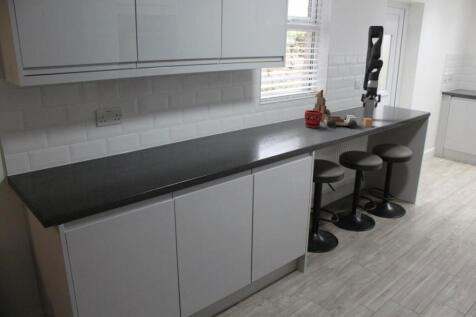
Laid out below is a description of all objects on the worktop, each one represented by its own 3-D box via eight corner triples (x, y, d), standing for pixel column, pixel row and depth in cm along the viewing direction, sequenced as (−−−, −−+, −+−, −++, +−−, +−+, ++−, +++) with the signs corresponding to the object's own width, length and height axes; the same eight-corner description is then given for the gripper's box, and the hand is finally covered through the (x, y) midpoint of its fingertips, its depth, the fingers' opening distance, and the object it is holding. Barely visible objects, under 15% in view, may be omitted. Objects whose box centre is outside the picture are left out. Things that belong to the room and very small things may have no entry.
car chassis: (323, 122, 313) (324, 113, 311) (351, 123, 312) (352, 114, 310) (327, 127, 297) (328, 117, 295) (356, 128, 296) (357, 118, 294)
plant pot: (322, 128, 292) (324, 113, 288) (305, 128, 292) (306, 112, 288) (319, 125, 304) (320, 109, 301) (302, 124, 304) (303, 109, 300)
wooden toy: (330, 121, 319) (333, 90, 311) (325, 122, 314) (328, 91, 307) (315, 118, 330) (317, 88, 322) (310, 119, 325) (312, 88, 318)
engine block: (362, 125, 309) (363, 117, 307) (369, 125, 309) (370, 117, 307) (365, 127, 302) (366, 119, 301) (371, 127, 302) (372, 119, 300)
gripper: (380, 86, 300) (377, 107, 304) (361, 85, 300) (359, 106, 305) (383, 87, 292) (380, 108, 297) (364, 86, 293) (361, 107, 298)
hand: (369, 107), depth 301 cm, fingers open, 8 cm apart
